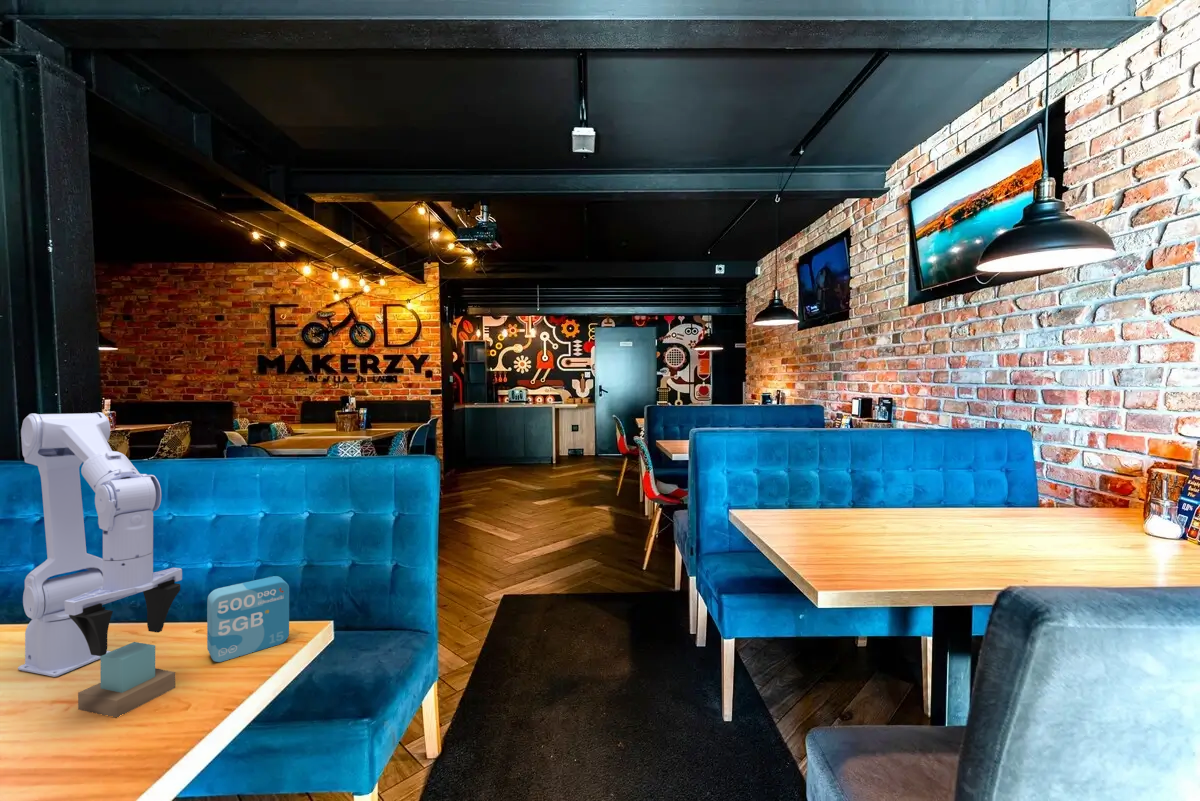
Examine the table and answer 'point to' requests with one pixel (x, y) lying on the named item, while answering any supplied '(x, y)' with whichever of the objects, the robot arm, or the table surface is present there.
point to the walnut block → (125, 695)
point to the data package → (247, 618)
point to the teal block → (127, 667)
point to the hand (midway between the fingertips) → (128, 642)
